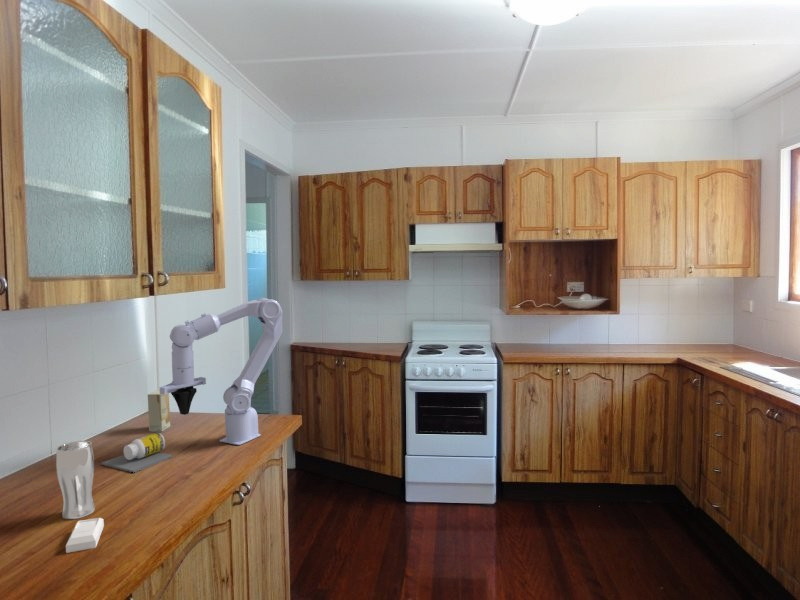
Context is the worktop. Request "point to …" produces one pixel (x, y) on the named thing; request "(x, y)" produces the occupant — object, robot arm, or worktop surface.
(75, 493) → the beer glass
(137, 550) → the worktop surface
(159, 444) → the supplement bottle
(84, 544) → the soap bar
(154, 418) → the skincare box
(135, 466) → the mat
